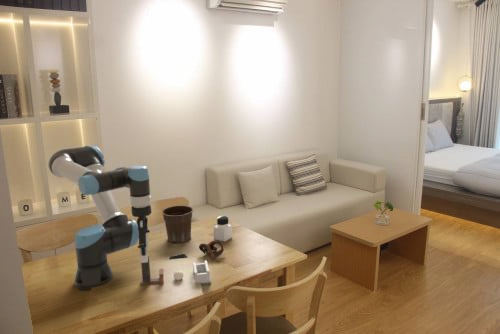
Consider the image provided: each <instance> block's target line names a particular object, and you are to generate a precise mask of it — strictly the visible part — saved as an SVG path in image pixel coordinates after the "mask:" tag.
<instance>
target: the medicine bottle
mask: <svg viewBox="0 0 500 334" xmlns="http://www.w3.org/2000/svg"><path fill="white" fill-rule="evenodd" d="M232 238H233V225H232V224H229V217H228V216H226V215H220V216H217V218H216V225H215V226H213V240H214V241H219V242H224V243H225V242H226V241H228V240H231V239H232Z"/></svg>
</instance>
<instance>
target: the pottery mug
mask: <svg viewBox="0 0 500 334" xmlns="http://www.w3.org/2000/svg"><path fill="white" fill-rule="evenodd" d="M217 244H218V245H219V246H220V250H218V247H216V246H215V245H217ZM198 249H199V250H200V251H201V252H202V253H203V254H204V255H206V254H208V253H209V255H210V256H209V258H210V260H215V258H218V257H220V256H221V255H222V254H223V252H224V250H225V249H224V245H223V243H222V242H221V241H219V240H211V241H209V243H200V244H199V246H198ZM213 251H214V252H213Z"/></svg>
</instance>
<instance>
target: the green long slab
mask: <svg viewBox="0 0 500 334" xmlns="http://www.w3.org/2000/svg"><path fill="white" fill-rule="evenodd" d="M192 271H193V274H194V283H195V284H200V285H201V286H208V285H211V284H212V281H211V276H210V268H209V265H208V261H207V260H204V262H200V263H196V261H193V262H192Z"/></svg>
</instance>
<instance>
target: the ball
mask: <svg viewBox="0 0 500 334" xmlns="http://www.w3.org/2000/svg"><path fill="white" fill-rule="evenodd" d="M183 277H184V273H183V271H182V270H175V272H173V279H174V280H175V281H181V280H183Z"/></svg>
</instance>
